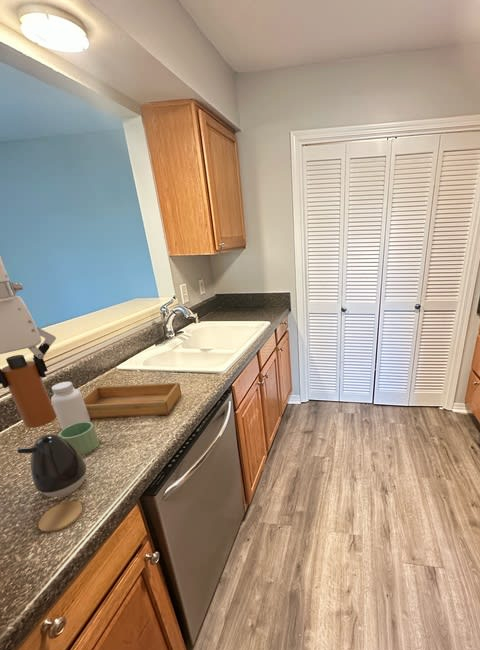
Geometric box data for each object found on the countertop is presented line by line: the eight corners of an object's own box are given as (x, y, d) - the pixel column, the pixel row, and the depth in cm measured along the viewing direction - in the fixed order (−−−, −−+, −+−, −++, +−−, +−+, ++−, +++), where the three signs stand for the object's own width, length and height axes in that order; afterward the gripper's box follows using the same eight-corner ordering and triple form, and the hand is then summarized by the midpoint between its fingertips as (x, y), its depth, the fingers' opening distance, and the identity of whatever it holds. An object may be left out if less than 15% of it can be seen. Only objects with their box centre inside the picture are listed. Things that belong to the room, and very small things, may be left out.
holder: (62, 460, 89) (54, 441, 86) (70, 444, 96) (63, 425, 94) (96, 452, 92) (90, 433, 89) (102, 437, 99) (95, 418, 96)
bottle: (21, 430, 68) (-9, 364, 62) (30, 417, 72) (3, 355, 67) (52, 423, 70) (26, 359, 64) (59, 411, 74) (35, 350, 69)
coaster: (33, 537, 66) (32, 536, 66) (45, 509, 73) (45, 507, 73) (78, 524, 69) (77, 522, 68) (86, 498, 76) (85, 496, 75)
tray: (181, 394, 123) (179, 381, 120) (168, 415, 109) (165, 401, 106) (100, 399, 122) (95, 386, 120) (76, 421, 108) (70, 406, 106)
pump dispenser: (39, 488, 79) (14, 436, 73) (87, 468, 85) (68, 419, 79) (41, 512, 72) (15, 457, 66) (94, 489, 78) (74, 436, 72)
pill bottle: (76, 434, 100) (59, 392, 94) (56, 431, 103) (39, 389, 97) (97, 421, 107) (83, 380, 101) (78, 418, 109) (63, 378, 104)
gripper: (39, 285, 68) (67, 364, 75) (-80, 299, 57) (-34, 390, 64) (47, 287, 64) (76, 371, 71) (-80, 303, 52) (-30, 402, 59)
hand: (24, 379), depth 67 cm, fingers closed on bottle, 5 cm apart
